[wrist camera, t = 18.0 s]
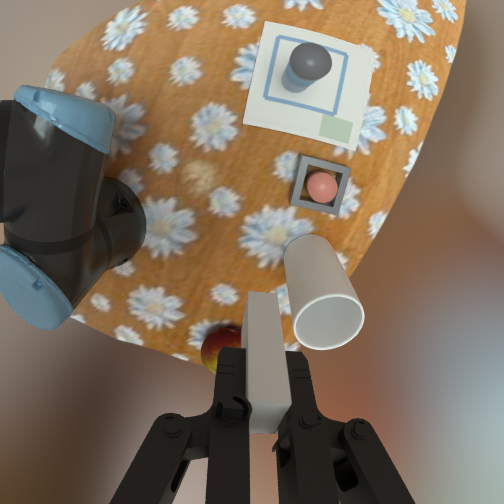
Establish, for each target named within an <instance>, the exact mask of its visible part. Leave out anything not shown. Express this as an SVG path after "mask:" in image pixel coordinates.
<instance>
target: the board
mask: <svg viewBox="0 0 504 504" xmlns="http://www.w3.org/2000/svg"><path fill="white" fill-rule="evenodd" d="M308 42H309V43H316V44H318V45H321V46H322V47H324V48H325V49H326V50H327V51H328V52H329V54H330V56H331V59H332V67H331V70H330V72H329V73H328V74H327V75H326V76H324V77H323V78H321V79H319V80H317V81H316V82H314V83H313V84H312V85H310V86H309V87H308V88H306V89H305V90H304V91H302V92H300V93H292V92H289V91H287V90H286V89H285V88H284V87H283V85H282V82H281V78H282V75H283V73H284V71H285V69H286V67H287V64H288V62H289V58H290V56H291V53H292V51H293V50H294V48H295V47H297V46H298V45H300V44H302V43H308ZM375 55H376V53H375V52H373V51H370V50H368V49H365V48H362V47H360V46H357V45H354V44H352V43H349V42H346V41H343V40H340V39H337V38H334V37H330V36H327V35H324V34H320V33H317V32H313V31H309V30H305V29H301V28H297V27H293V26H288V25H283V24H278V23H273V22H267V21H265V24H264V28H263V33H262V37H261V41H260V45H259V50H258V54H257V58H256V63H255V67H254V72H253V76H252V81H251V85H250V90H249V95H248V99H247V104H246V109H245V114H244V119H243V124H247V125H252V126H258V127H263V128H268V129H273V130H277V131H282V132H286V133H291V134H295V135H299V136H303V137H307V138H311V139H315V140H319V141H322V142H326V143H329V144H333V145H336V146H340V147H343V148H346V149H350V150H353V151H355V150H356V146H357V142H358V138H359V134H360V130H361V125H362V121H363V117H364V112H365V107H366V103H367V98H368V93H369V88H370V83H371V78H372V72H373V67H374V61H375Z"/></svg>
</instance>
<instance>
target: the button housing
mask: <svg viewBox="0 0 504 504" xmlns="http://www.w3.org/2000/svg"><path fill="white" fill-rule="evenodd" d="M308 164H309V165H313V166H317V167H321V168H324V169H328V170H332V171H335V172H338V173H337V177H336V182H337V186H338V190H337V194H336V196H335V197H334V198H333V199H332V200H331V201H330V202H326V203H319V202H316V201H315V200H313V199H312V198H308V197H303V196H300V194H301V191H302V187H303V183H304V179H305V175H306V170H307V166H308ZM350 171H351V168H349V167H347V166H345V165H341V164H338V163H334V162H331V161H327V160H323V159H320V158H316V157H312V156H308V155H304V154H300V155H299V159H298V164H297V168H296V172H295V176H294V180H293V185H292V189H291V193H290V197H289V202H290V205H294V206H298V207H303V208H307V209H312V210H316V211H321V212H325V213H329V214H333V215H337V216H338V213H339V210H340V206H341V203H342V200H343V196H344V193H345V189H346V186H347V182H348V179H349V175H350Z"/></svg>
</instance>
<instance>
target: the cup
mask: <svg viewBox="0 0 504 504" xmlns="http://www.w3.org/2000/svg"><path fill="white" fill-rule="evenodd" d="M284 267H285V274H286V280H287V287H288V294H289V301H290V308H291V315H292V323H293V329H294V333H295V336H296V338H297V339H298V341H299V342H300V343H301V344H303V345H304V346H306V347H309V348H312V349H317V350H327V349H333V348H336V347H339V346H342V345H344V344H346V343H347V342H348V341H350V340H351V339H353V338H354V337H355V336H356V335H357V334H358V332H359V331H360V329H361V328H362V325H363V322H364V311H363V308H362V306H361V303H360V301H359V299H358V297H357V295H356V293H355V290H354V289H353V287H352V285H351V282H350V280H349V278H348V276H347V274H346V272H345V270H344V268H343V266H342V265H341V263H340V261H339V259H338V257H337V255H336V253H335V251H334V249H333V247H332V246H331V244H330V243H329V242H328V240H326V239H325V238H323V237H321V236H319V235H314V234H308V235H303V236H300V237H298V238H296V239H295V240H293V241H292V242H291V243H290V244H289V245H288V247H287V248H286V250H285V253H284Z"/></svg>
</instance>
